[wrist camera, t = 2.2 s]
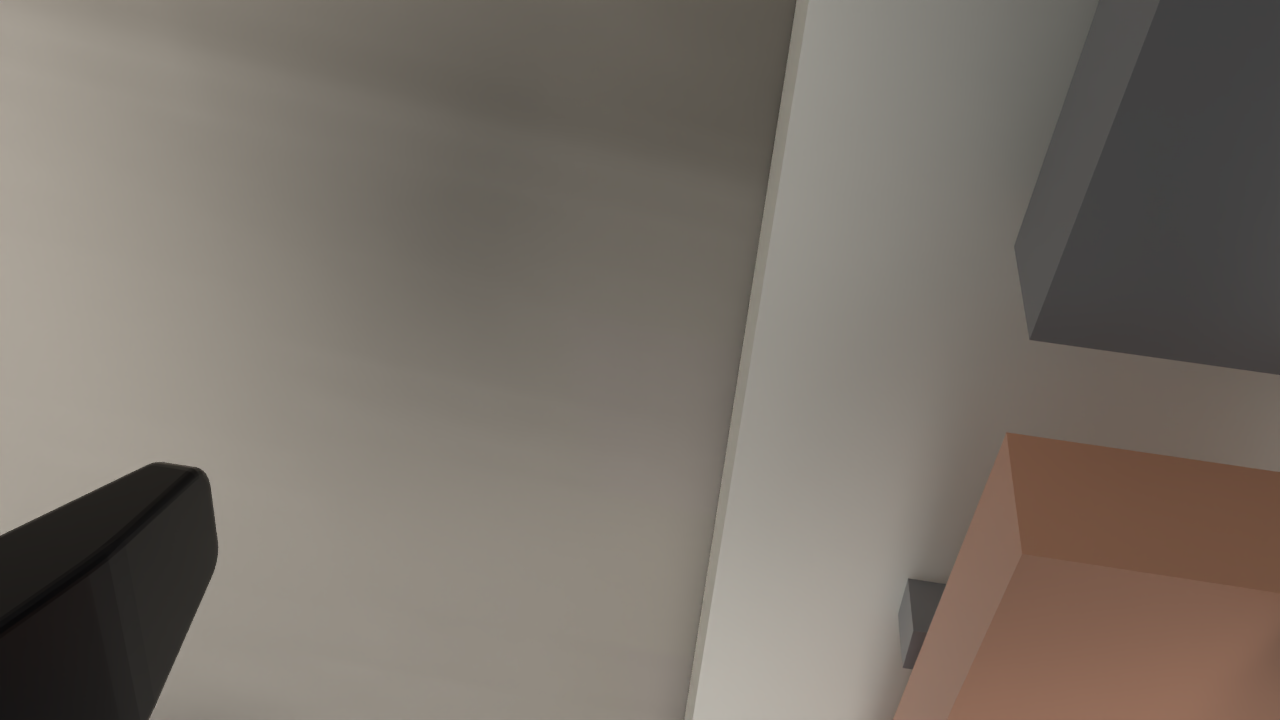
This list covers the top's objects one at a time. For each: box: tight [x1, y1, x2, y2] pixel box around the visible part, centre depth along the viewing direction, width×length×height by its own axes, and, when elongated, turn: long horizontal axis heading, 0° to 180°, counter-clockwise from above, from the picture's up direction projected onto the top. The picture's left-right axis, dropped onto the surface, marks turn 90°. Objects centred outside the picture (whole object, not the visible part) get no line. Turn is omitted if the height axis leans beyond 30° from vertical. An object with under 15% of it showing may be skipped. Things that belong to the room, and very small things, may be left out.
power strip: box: [684, 0, 1280, 720], centre depth 17 cm, size 33×9×6 cm, turn 175°
